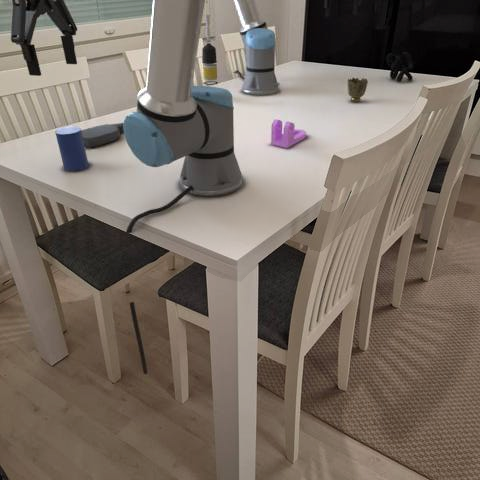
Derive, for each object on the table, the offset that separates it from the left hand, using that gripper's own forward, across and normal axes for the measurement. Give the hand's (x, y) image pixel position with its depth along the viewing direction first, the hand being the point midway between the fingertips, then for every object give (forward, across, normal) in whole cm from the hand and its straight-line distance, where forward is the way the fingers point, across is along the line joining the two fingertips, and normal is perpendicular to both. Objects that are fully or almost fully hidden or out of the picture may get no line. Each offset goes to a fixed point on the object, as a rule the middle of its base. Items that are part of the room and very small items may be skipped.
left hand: (54, 69), depth 108 cm
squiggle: (+25, -126, +81) cm, 152 cm away
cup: (+25, -85, +66) cm, 111 cm away
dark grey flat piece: (+25, -25, -4) cm, 36 cm away
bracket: (+25, -36, +51) cm, 67 cm away
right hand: (-1, -116, +54) cm, 128 cm away
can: (+25, 0, 0) cm, 25 cm away
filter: (+25, -75, +10) cm, 80 cm away
